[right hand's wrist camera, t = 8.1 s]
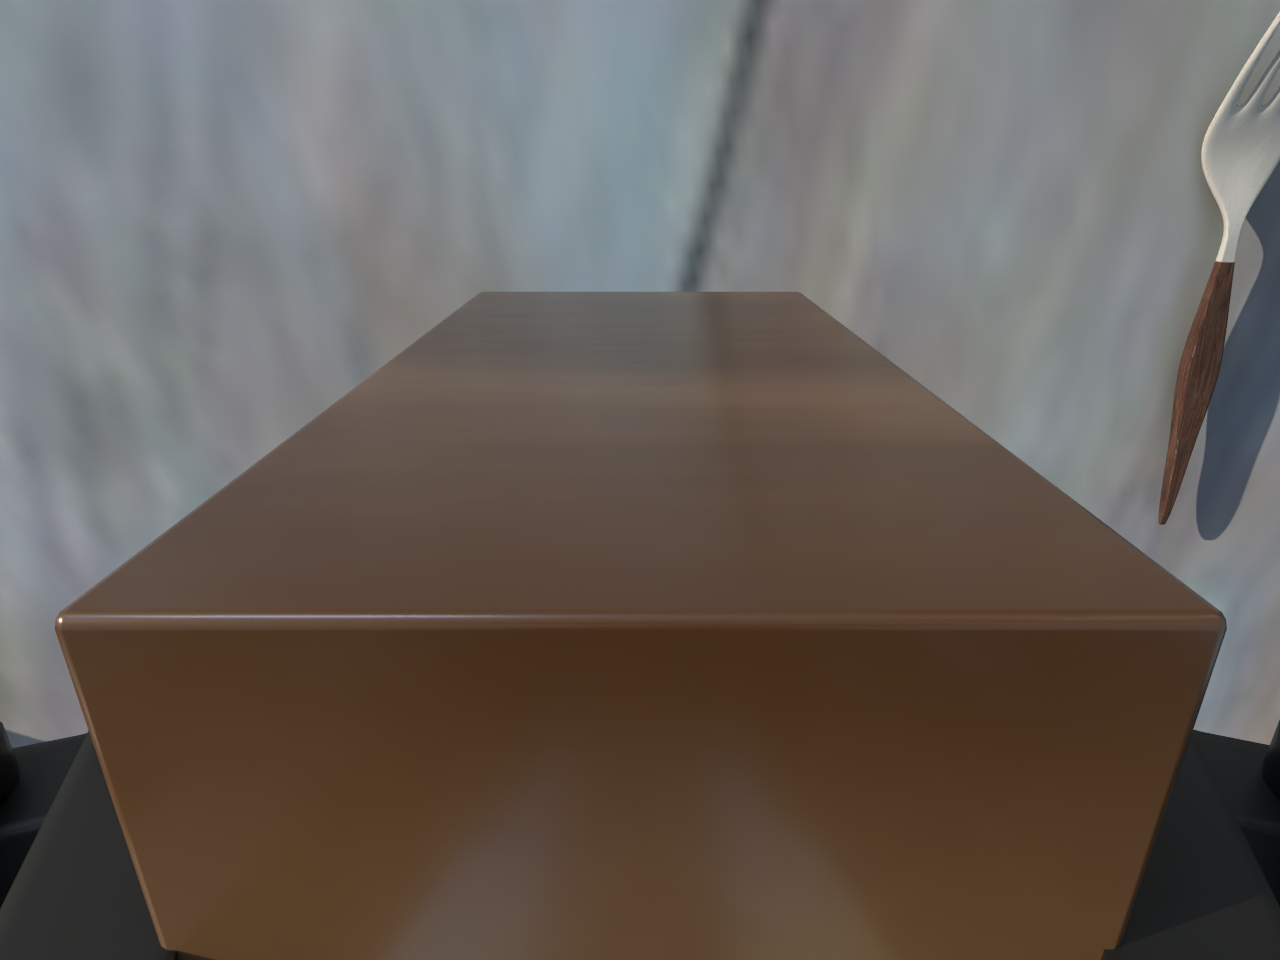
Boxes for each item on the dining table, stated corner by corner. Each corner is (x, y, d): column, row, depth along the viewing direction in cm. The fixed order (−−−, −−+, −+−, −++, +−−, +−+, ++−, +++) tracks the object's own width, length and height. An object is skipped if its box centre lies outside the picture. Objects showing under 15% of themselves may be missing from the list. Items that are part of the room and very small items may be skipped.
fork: (1116, 519, 28) (1150, 544, 26) (1228, 15, 22) (1282, 0, 20) (1188, 517, 28) (1227, 542, 26) (1319, 11, 22) (1382, -3, 20)
